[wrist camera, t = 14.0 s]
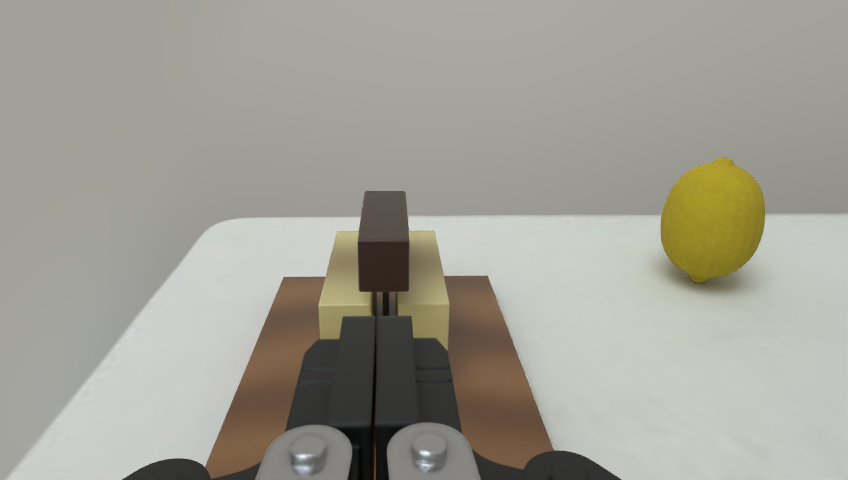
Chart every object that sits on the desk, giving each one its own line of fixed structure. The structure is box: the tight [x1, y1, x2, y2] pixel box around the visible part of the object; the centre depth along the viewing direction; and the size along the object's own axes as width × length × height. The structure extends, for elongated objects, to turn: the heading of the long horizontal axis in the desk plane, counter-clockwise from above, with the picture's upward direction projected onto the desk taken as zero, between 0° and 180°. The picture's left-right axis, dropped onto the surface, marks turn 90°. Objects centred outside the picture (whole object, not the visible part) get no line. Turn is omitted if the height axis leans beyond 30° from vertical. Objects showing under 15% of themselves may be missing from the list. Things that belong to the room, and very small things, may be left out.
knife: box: [357, 191, 410, 316], centre depth 25 cm, size 11×2×7 cm, turn 3°
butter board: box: [205, 231, 554, 480], centre depth 21 cm, size 24×12×5 cm, turn 3°
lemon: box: [661, 157, 765, 283], centre depth 34 cm, size 6×6×8 cm
